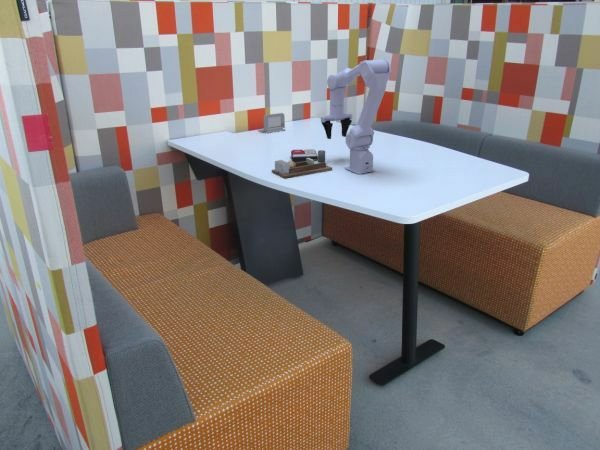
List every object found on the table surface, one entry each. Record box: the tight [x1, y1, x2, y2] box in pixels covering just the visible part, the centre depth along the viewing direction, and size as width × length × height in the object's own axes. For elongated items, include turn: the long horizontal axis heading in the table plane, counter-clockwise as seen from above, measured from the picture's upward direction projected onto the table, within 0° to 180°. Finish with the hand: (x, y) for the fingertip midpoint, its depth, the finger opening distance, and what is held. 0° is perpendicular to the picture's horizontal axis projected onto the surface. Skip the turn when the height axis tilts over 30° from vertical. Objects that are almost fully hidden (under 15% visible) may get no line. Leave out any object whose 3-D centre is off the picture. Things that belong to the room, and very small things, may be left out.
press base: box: [271, 159, 333, 180], centre depth 203 cm, size 11×22×3 cm, turn 120°
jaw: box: [306, 150, 328, 166], centre depth 205 cm, size 4×8×6 cm, turn 120°
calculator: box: [290, 148, 318, 163], centre depth 220 cm, size 11×4×15 cm
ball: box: [286, 160, 296, 168], centre depth 200 cm, size 4×4×4 cm
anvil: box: [274, 159, 290, 175], centre depth 198 cm, size 7×3×4 cm, turn 30°
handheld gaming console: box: [257, 112, 286, 135], centre depth 279 cm, size 13×9×10 cm
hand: (336, 137), depth 213 cm, fingers open, 7 cm apart
